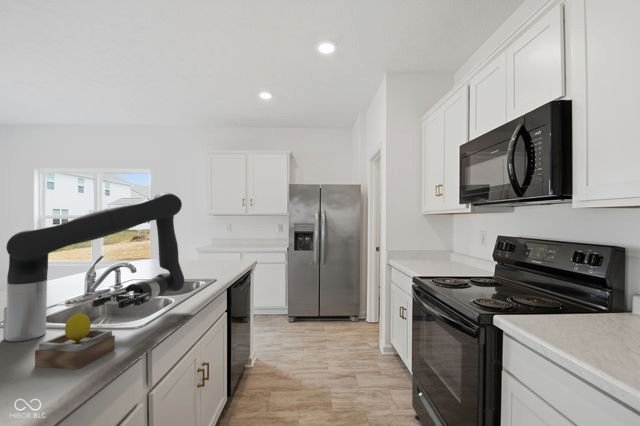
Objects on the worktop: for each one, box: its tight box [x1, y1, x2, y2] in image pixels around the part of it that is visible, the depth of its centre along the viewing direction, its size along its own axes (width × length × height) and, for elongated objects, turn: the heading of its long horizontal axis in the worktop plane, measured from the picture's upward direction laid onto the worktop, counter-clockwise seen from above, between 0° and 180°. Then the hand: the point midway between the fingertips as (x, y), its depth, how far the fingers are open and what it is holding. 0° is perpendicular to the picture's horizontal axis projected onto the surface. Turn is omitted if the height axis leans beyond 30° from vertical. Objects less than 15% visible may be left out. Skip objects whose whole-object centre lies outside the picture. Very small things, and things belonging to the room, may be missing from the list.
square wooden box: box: [34, 328, 116, 370], centre depth 85 cm, size 12×12×6 cm
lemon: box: [64, 311, 91, 342], centre depth 85 cm, size 6×6×8 cm
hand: (106, 304), depth 95 cm, fingers open, 8 cm apart
